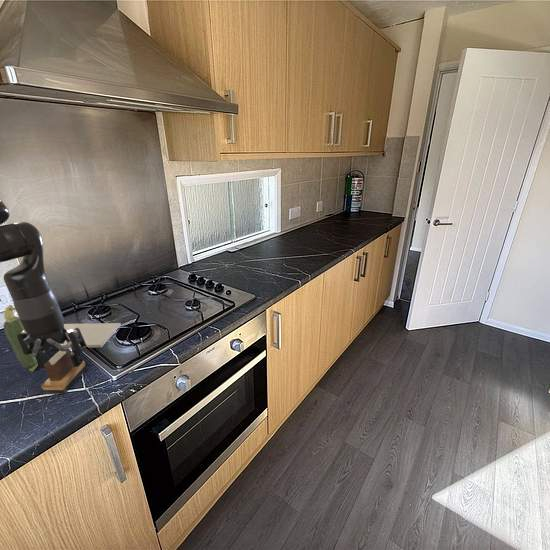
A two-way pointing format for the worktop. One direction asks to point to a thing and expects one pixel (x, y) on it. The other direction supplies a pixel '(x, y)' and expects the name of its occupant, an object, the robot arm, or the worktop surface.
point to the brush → (61, 373)
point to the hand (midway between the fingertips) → (62, 365)
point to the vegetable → (12, 330)
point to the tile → (94, 333)
